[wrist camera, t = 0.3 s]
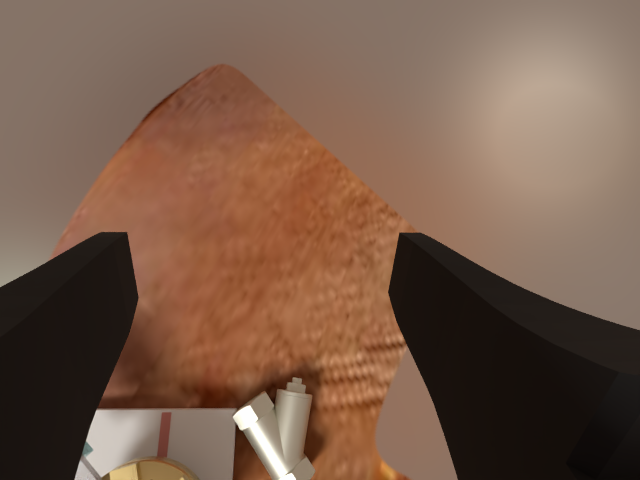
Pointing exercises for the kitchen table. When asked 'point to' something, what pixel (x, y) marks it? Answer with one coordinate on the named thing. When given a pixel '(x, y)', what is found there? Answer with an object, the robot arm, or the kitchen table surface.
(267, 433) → the pipe fitting
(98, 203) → the kitchen table surface
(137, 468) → the gold gear
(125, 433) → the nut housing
